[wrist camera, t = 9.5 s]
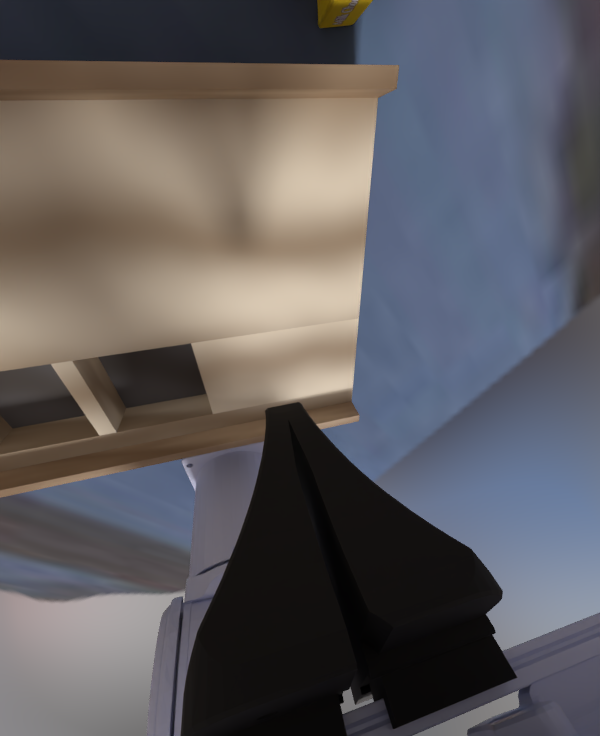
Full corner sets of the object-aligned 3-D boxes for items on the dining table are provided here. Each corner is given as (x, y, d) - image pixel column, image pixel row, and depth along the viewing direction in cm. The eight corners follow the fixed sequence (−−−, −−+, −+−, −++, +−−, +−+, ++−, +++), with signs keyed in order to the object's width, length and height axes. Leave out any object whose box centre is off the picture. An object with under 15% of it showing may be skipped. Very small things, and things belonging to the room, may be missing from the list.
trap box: (339, 387, 23) (358, 421, 20) (-87, 468, 19) (-151, 529, 15) (355, 92, 13) (399, 65, 10) (-608, 96, 8) (-1145, 44, 5)
